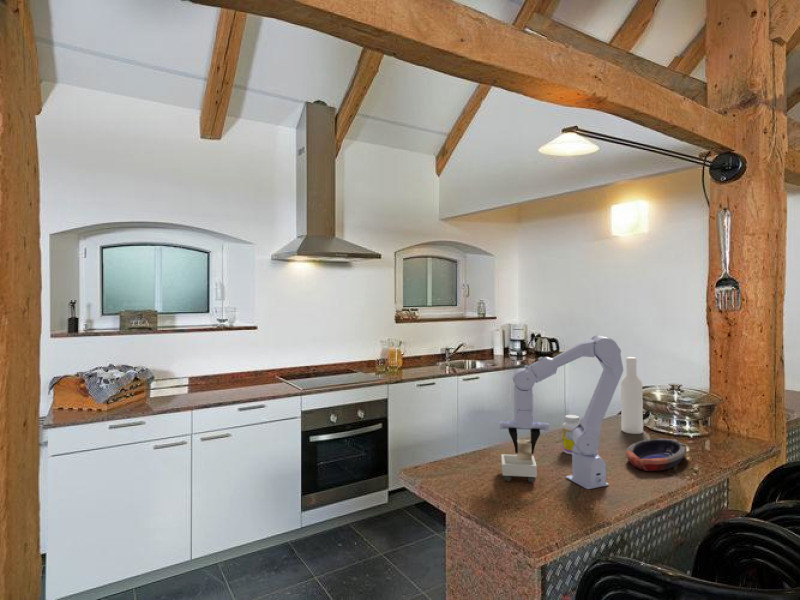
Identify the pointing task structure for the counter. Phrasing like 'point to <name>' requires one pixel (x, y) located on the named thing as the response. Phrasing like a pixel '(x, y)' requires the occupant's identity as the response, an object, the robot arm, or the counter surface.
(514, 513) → the counter surface
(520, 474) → the white open storage bin
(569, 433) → the supplement bottle
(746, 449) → the counter surface
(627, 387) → the bottle
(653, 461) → the dish
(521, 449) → the block
